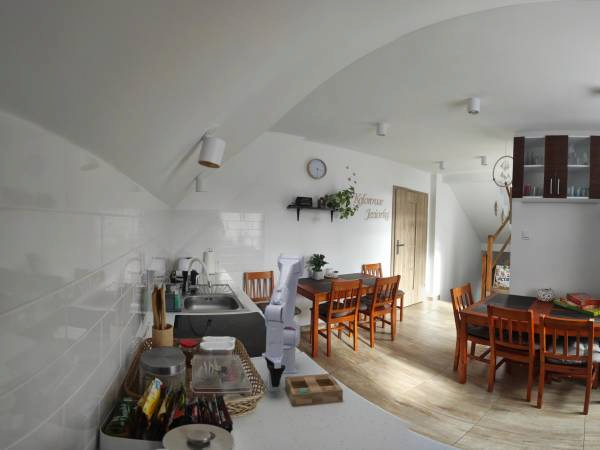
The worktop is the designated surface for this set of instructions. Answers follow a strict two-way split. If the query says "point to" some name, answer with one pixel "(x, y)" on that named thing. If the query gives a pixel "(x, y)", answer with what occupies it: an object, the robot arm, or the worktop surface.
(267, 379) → the matte gray box
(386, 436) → the worktop surface
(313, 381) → the port block
